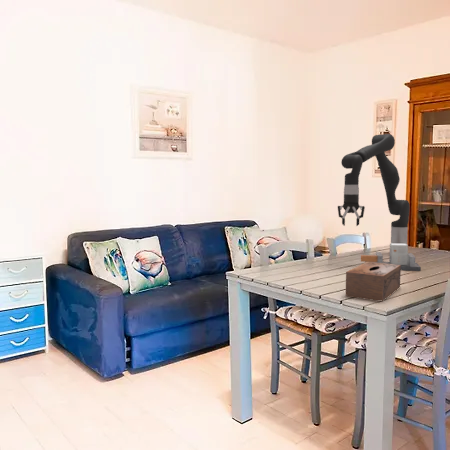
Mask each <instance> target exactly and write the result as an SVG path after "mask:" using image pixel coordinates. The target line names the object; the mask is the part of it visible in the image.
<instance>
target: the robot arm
mask: <svg viewBox="0 0 450 450" xmlns="http://www.w3.org/2000/svg"><path fill="white" fill-rule="evenodd" d="M395 143H396V141H395V137H394V135H392V134H389V133H384V134H382V133H381V134H375V135H374V136H372V138H371V144H369V145H366V146H364V147H362V148H360V149H358V150H357V151H354V152H350V153H347V154H346V155H344V156H343V157H342V159H341V166H342V168H344V169H346V170H347V169H349V170H351V172H348V173H345V175H344V187H343V204H342V205H337V212H338V218H341V223H342V225H343V226H344V227H345V226H346V216H347V214H355V216H356V218H355V219H356V222H355V223H356V224H355V225H356V226H355V227H358V226H359V225H360V219H361V218H364V213H365V210H366V209H365V208H366V207H365V205H360V204H359V203H360V201H359V199H360V187H359V183H360V180H359V179H360V178H359V177H360V174H361V170H362V167H363V163H365V162H366V161H367V162H368V161H369V160H371V159H372V158H374V157H375V158H376V161H377V164H378V167H379V172H380V175H381V180H382V183H383V187H384V190H385V191H384V192H385V195H386V200H387V202H386V203H387V207H388V212H389V214H390V215H393V216H399V218H398V219H397V220H393V221H391V224H390V243H398V244H407V245H408V230H409V225H408V224H409V223H410V210H411V207H410V201H409V200H407V199H397V198H396V190H397V189H398V186H399V183H400V173H399V170H398V168H397V167H396V165H395V164H394V163H393V162H392V161H391V159H389V158H388V157H387V155H386V152H389V151H391V150H393V148H394V146H395ZM342 209H343V210H344V212H343V215H342V213H341V211H342ZM359 209H360V211H361V212H360V215H359V213H358V210H359Z"/></svg>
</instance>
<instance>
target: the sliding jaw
mask: <svg viewBox="0 0 450 450" xmlns="http://www.w3.org/2000/svg"><path fill="white" fill-rule="evenodd" d="M360 262H364V263H365V262H376V263H383V262H384V255H383V254H382V252H381V251H376V252H375V255H374V254H373V255H372V254H371V255H370V254H360Z"/></svg>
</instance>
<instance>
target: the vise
mask: <svg viewBox="0 0 450 450" xmlns="http://www.w3.org/2000/svg"><path fill="white" fill-rule="evenodd" d="M374 263H376V262H374ZM383 263H384V264H390V263H389V261H383ZM421 268H422V267H421V266H420V264H419V263H418V262H416V256H415V255H414V253H412V252H408V264H407V265H401V271H405V272H406V271H408V272H409V271H411V272H412V271H413V272H421V270H422V269H421Z"/></svg>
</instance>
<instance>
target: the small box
mask: <svg viewBox="0 0 450 450" xmlns="http://www.w3.org/2000/svg"><path fill="white" fill-rule="evenodd" d="M408 253H409V245H408V243H407V244H398V243H391V242H389V258H388V259H389V261H388V262H389V263H390V264H394V265H407V264H408Z"/></svg>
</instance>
